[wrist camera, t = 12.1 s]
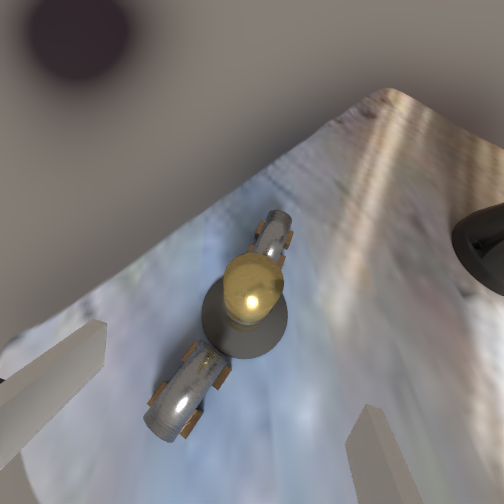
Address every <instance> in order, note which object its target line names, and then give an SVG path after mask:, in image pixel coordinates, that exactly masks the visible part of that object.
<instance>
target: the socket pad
mask: <svg viewBox="0 0 504 504" xmlns="http://www.w3.org/2000/svg"><path fill="white" fill-rule="evenodd" d="M223 278H224V277H223ZM223 278H222V279H220V280H219V281H217V282H216V283H215V284H214V285H213V286H212V288H211V289H210V290H209V292H208V293H207V295H206V297H205V300H204V303H203V307H202V323H203V328H204V330H205V333H206V335H207V337H208V339H209V340H210V341H211V343H212V344H213V345H214V346H215V347H216V348H217V349H218V350H219V351H221V352H222V353H224V354H226V355H228V356H231V357H234V358H238V359H251V358H255V357H259V356H261V355H263V354H265V353H267V352H269V351H270V350H271V349H273V348H274V347H275V346H276V345H277V343H278V342H279V341H280V339H281V338H282V336H283V334H284V332H285V329H286V325H287V319H288V312H287V306H286V302H285V299H284V297H283V295H282V294H281V296H280V298H279V299H278V300H277V302H276V303H275V304H274V306H273V309H272V312H271V313H270V315H269V316H268V317H267V318H266V320H264V321H263V322H262V323H260V325H259V326H258V327H257V328H256V329H254V330H252V331H249V332H240V331H237V330H235V329H233V328H232V327H231V326H230V325H229V324H228V322H227V320H226V318H225V312H224V309H223V304H222V294H223V290H224V285H223Z"/></svg>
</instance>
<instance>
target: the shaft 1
mask: <svg viewBox="0 0 504 504" xmlns="http://www.w3.org/2000/svg"><path fill="white" fill-rule="evenodd" d="M181 360H182V361H183V362H184V364H183V365H182V366H181V368H180V369H179V370H178V371H177V373H176V374H175V375H174V377H173V378H172V379H171V381H170V382H168V381H164V382H163V384H162V385H161V386H160V387H159V389H158V390H157V391H156V393H155V394H154V395H153V396H152V398H151V399H150V400H149V402H148V403H147V404H148V405H149V406H150V408H149V409H148V411H147V412H146V413H145V415H144V416H143V419H144V421H145V423H146V425H147V426H148V428H149V429H150V430H151V431H152V432H153V433H154V434H155V435H157V436H158V437H159V438H161V439H162V440H164V441H166V442H169V443H172V442H174V440H175V439H176V437H177V436H178V434H180V435H182V436H183V437H184V438H185V439H186V438H187V437H188V435H189V434H190V432H191V431H192V429H193V428H194V426H195V425H196V423H197V422H198V420H199V419H200V417H201V416H202V414H203V412H202V411H201V410H200V409H199V408H198V407H197V406H198V405H199V403H200V402H201V400H202V399H203V398H204V396H205V395H206V393H207V392H208V390H209V389H210V387H211V386H213V387H215V388H216V389H217V390H219V388H220V387H221V385H222V384H223V382H224V381H225V379H226V378H227V376H228V375H229V373H230V372H231V369H230V368H229V367H228V366H226V364H227V361H226V360H225V359H223V358H222V357H221V356H220V355H218V354H217V353H216V352H215V351H213V350H212V349H211V348H210V347H208V346H207V345H206V344H205V343H203V342H202V341H200V343H198V342H197V341H195V342H194V344H193V345H192V346H191V347H190V349H189V350H188V351H187V353H186V354H185V355H184V356H183V358H182V359H181Z"/></svg>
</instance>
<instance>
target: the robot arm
mask: <svg viewBox="0 0 504 504" xmlns="http://www.w3.org/2000/svg"><path fill="white" fill-rule="evenodd" d="M453 245H454V248H455V251H456V253H457V255H458V257H459V259H460V261H461V262H462V264H463V265H464V267H465V268H466V269H467V270H468V271H469V272H470V274H471V275H472V276H473V277H475V278H476V279H477V280H478V281H479V282H480V283H482V284H483V285H484V286H486V287H487V288H489V289H490V290H492V291H494V292H496V293H498V294H500V295H502V296H504V203H501V204H498V205H495V206H491V207H488V208H485V209H482V210H478V211H476V212H474V213H472V214H470V215H469V216H467V217H466V218H464V219H462V220H461V221H460V222H459V223H458V224H457V225H456V226H455V228H454V231H453ZM106 334H107V323H105V322H101V321H98V320H95V319H92V320H91V321H89V322H88V323H87V324H85V325H84V326H82V327H81V328H79V329H78V330H77V331H75V332H74V333H72V334H71V335H69V336H68V337H67V338H65V339H64V340H62V341H61V342H59V343H58V344H57V345H55V346H54V347H52V348H51V349H49V350H48V351H47V352H45V353H44V354H42V355H41V356H40V357H38V358H37V359H35V360H34V361H32V362H31V363H30V364H28V365H27V366H25V367H24V368H22V369H21V370H20V371H18V372H17V373H15V374H14V375H12V376H11V377H10V378H8V379H7V380H4V379H1V378H0V470H1V469H2V468H3V467H4V466H5V465H6V464H7V463H8V462H9V461H10V460H11V459H12V458H13V457H14V456H15V455H16V454H17V453H18V452H19V451H20V450H21V449H22V448H23V447H24V446H25V445H26V444H27V443H28V442H29V441H30V440H31V439H32V438H33V437H34V436H35V435H36V434H37V433H38V432H39V431H40V430H41V429H42V428H43V427H44V426H45V425H46V424H47V423H48V422H49V421H50V420H51V419H52V418H53V417H54V416H55V415H56V414H57V413H58V412H59V411H60V410H61V409H62V408H63V407H64V406H65V405H66V404H67V403H68V402H69V401H70V400H71V399H72V398H73V397H74V396H75V395H76V394H77V393H78V392H79V391H80V390H81V389H82V388H83V387H84V386H85V385H86V384H87V383H88V382H89V381H90V380H91V379H92V378H93V377H94V376H95V375H96V374H97V373H98V372H99V371H100V370H101V369H102V368H103V367H104V360H105V347H106ZM345 448H346V452H347V456H348V460H349V465H350V469H351V473H352V477H353V482H354V486H355V490H356V494H357V499H358V503H359V504H423V501H422V499H421V497H420V494H419V492H418V490H417V488H416V485H415V483H414V481H413V479H412V476H411V474H410V472H409V469H408V467H407V465H406V463H405V460H404V458H403V456H402V453H401V451H400V449H399V447H398V444H397V442H396V440H395V438H394V435H393V433H392V431H391V428H390V426H389V424H388V422H387V419H386V417H385V415H384V413H383V410H382V409H380V408H377V407H374V406H371V405H368V404H366V405H365V406H364V408H363V410H362V412H361V414H360V416H359V418H358V420H357V421H356V423H355V425H354V427H353V429H352V431H351V433H350V435H349V436H348V438H347V440H346V442H345Z"/></svg>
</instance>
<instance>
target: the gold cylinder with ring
mask: <svg viewBox="0 0 504 504" xmlns="http://www.w3.org/2000/svg"><path fill="white" fill-rule="evenodd" d="M223 285H224V290H223V294H222V304H223V309H224V312H225V318H226V320H227V322H228V324H229V325H230V326H231V327H232V328H233V329H235V330H237V331H240V332H249V331H252V330H254V329H256V328H257V327H258V326H259V325H260V323H262V322H263V321H264V320H266V318H267V317H268V316H269V315H270V313H271V312H272V309H273V306H274V304H275V303H276V302H277V300H278V299H279V298H280V296H281V294H282V291H283V287H284V279H283V274H282V272H281V270H280V268H279V266H278V265H277V264H276V263H275V262H274V261H273V260H272V259H271V258H269V257H267V256H265V255H262V254H259V253H246V254H243V255H240V256H238V257H236V258H235V259H233V260H232V261H231V262H230V264H229V265H228V266H227V268H226V270H225V273H224V278H223Z"/></svg>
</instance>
